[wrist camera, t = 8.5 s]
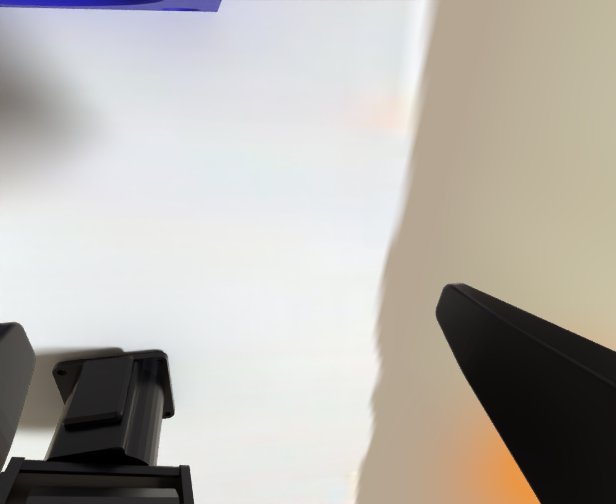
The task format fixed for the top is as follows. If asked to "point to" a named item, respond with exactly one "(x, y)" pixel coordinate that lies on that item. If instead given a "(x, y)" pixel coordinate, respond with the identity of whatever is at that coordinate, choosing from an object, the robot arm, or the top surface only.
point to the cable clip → (119, 4)
